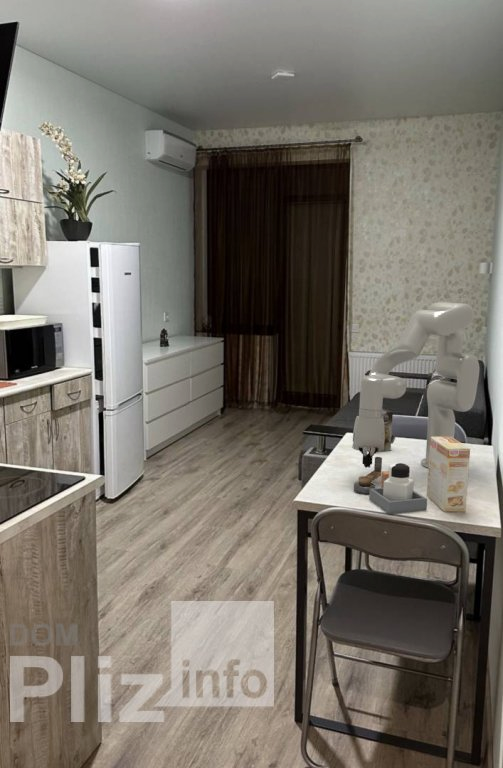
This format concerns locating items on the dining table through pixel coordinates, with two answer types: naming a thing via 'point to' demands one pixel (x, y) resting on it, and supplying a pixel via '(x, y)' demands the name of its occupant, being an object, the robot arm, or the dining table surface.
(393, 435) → the cell phone
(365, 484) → the crank
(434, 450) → the coffeecake box
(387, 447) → the coffee box
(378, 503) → the tray
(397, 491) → the medicine bottle
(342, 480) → the dining table surface
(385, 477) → the block
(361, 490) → the crank base
